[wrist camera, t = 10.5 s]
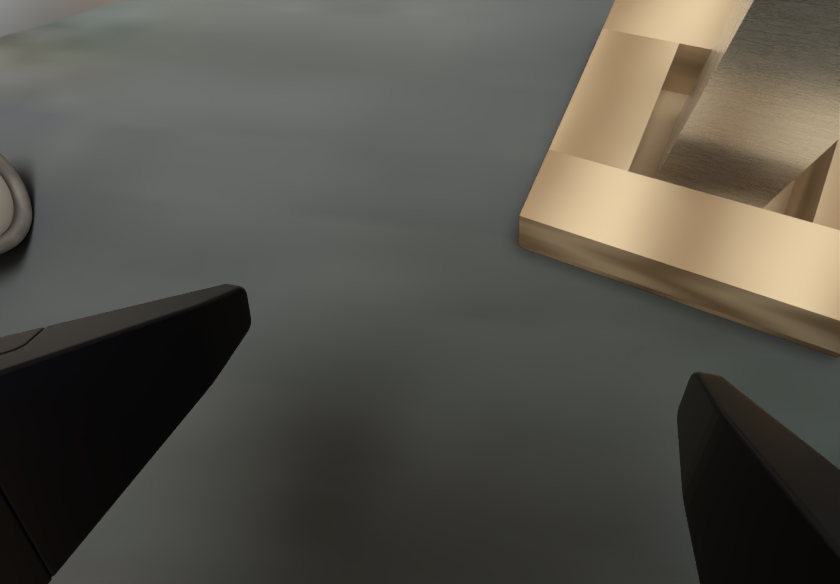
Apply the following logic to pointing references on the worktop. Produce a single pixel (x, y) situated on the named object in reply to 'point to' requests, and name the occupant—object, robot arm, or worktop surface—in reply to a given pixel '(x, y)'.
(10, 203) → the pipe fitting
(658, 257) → the socket block
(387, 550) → the worktop surface
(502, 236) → the worktop surface
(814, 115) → the grey rectangular block
